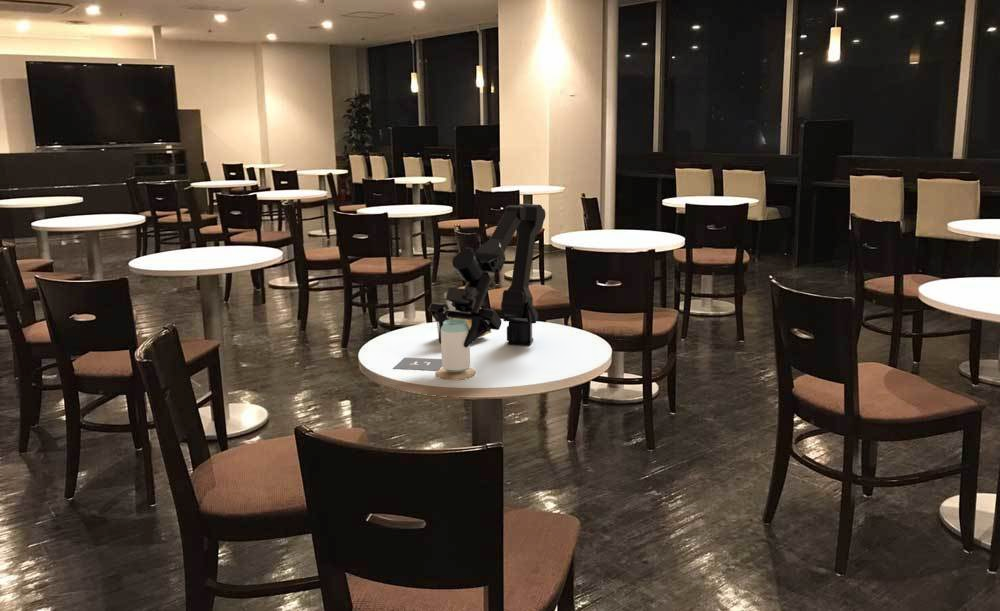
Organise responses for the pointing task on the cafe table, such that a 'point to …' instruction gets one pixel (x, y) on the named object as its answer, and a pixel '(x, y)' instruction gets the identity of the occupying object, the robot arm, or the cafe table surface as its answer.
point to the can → (455, 345)
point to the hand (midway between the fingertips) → (452, 344)
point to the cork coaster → (455, 374)
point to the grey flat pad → (419, 364)
